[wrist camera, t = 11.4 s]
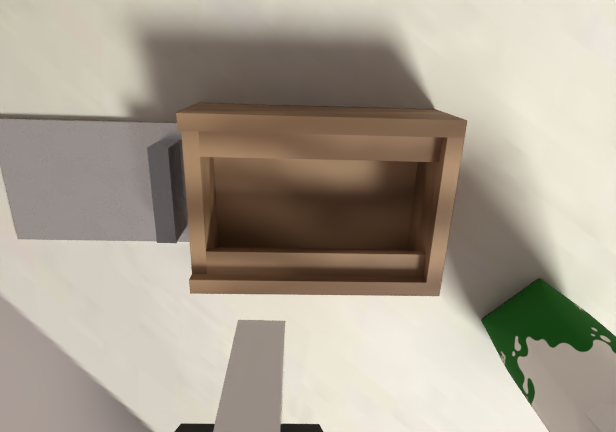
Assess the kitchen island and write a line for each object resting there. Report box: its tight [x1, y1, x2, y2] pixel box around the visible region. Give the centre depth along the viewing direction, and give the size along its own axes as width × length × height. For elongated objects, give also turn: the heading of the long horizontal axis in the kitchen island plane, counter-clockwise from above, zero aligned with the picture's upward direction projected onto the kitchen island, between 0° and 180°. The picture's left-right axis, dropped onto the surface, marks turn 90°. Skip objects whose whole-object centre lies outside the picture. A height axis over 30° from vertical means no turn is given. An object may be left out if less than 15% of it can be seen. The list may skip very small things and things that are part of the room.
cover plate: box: [0, 118, 190, 243], centre depth 35 cm, size 11×17×4 cm, turn 88°
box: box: [176, 103, 467, 296], centre depth 34 cm, size 14×20×7 cm
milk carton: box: [481, 278, 616, 432], centre depth 34 cm, size 9×9×20 cm
